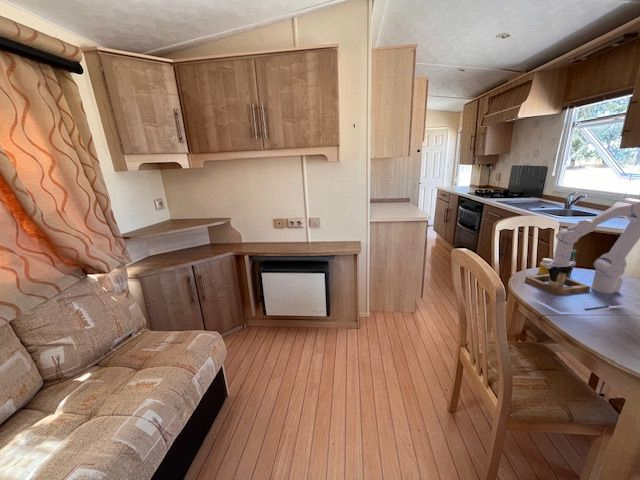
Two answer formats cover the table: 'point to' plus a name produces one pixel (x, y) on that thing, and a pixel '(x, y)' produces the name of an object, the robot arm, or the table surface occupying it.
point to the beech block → (558, 281)
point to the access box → (575, 288)
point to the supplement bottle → (542, 266)
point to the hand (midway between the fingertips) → (556, 280)
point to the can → (572, 259)
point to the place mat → (597, 308)
